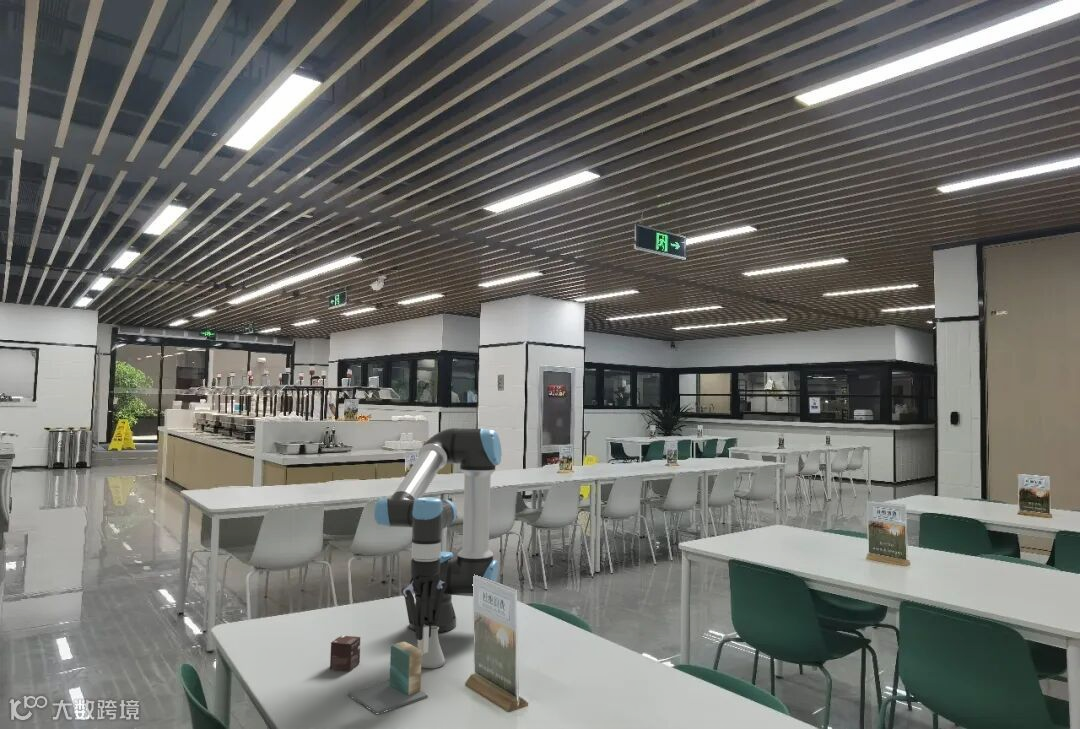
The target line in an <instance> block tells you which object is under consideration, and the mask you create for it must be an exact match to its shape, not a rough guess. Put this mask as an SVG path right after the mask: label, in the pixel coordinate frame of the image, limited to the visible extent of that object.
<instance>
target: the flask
mask: <svg viewBox="0 0 1080 729" xmlns="http://www.w3.org/2000/svg"><path fill="white" fill-rule="evenodd" d="M438 629H439V627H437V626H431V636H430V637H429V643H428V652H427V653H424V654H423V653H422V658H421V668H424V669H435V670H436V669H437V668H440V667H443V666H444V665H445V664H446V659H445V656H444V653H443V650H442V647H441V645H440V644H441V643H440V641H439V632H438Z"/></svg>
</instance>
